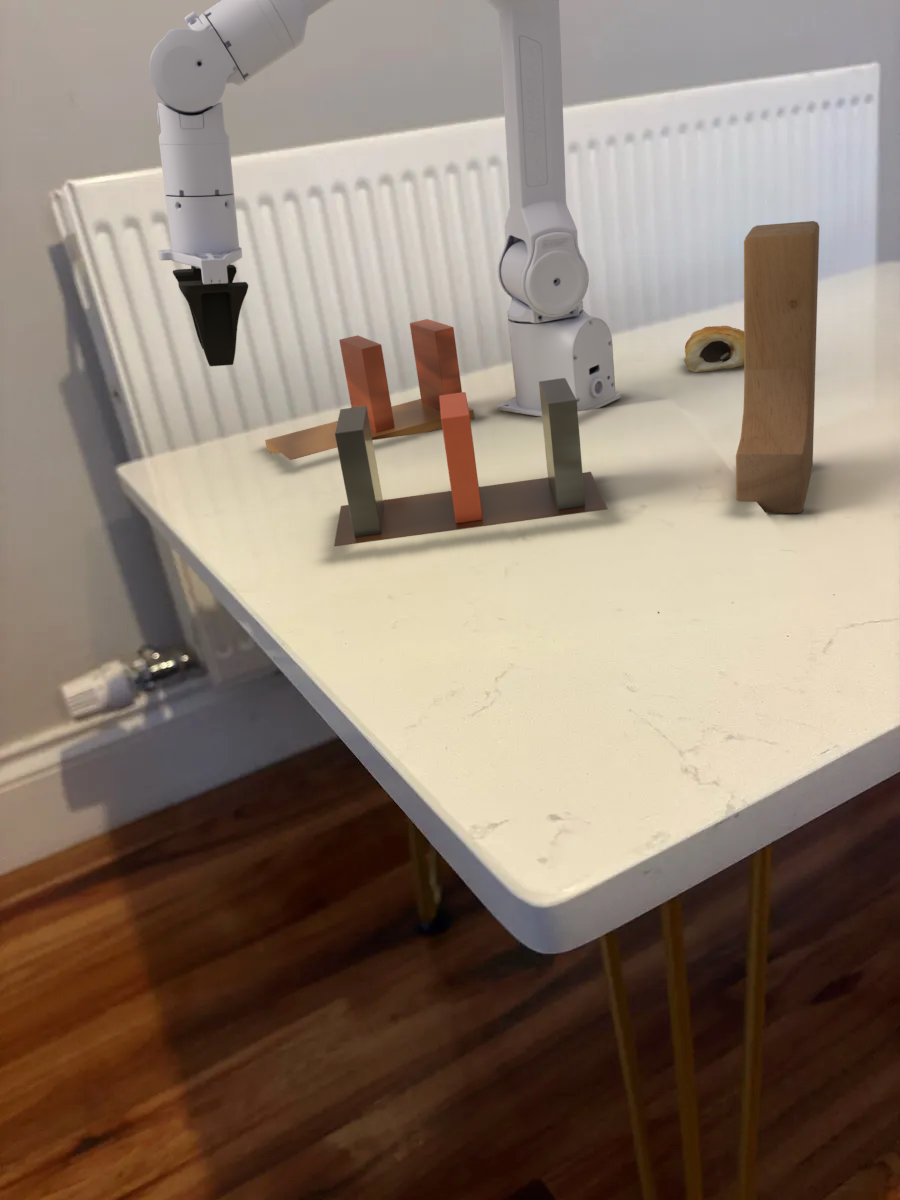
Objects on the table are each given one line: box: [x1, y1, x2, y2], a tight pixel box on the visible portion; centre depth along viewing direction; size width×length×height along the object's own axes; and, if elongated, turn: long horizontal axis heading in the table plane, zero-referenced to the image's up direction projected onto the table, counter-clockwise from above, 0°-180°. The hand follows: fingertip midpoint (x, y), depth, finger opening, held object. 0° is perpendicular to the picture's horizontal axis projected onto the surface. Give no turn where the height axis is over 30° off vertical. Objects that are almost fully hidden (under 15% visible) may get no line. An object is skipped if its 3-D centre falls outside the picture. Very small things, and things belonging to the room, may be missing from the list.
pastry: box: [683, 325, 744, 373], centre depth 107 cm, size 9×7×4 cm
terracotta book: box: [439, 391, 483, 523], centre depth 76 cm, size 2×6×8 cm, turn 2°
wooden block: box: [735, 220, 820, 514], centre depth 71 cm, size 9×4×18 cm, turn 159°
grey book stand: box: [333, 378, 608, 547], centre depth 76 cm, size 20×8×9 cm, turn 92°
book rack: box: [264, 318, 475, 461], centre depth 99 cm, size 19×8×9 cm, turn 116°
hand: (217, 356), depth 93 cm, fingers open, 7 cm apart
